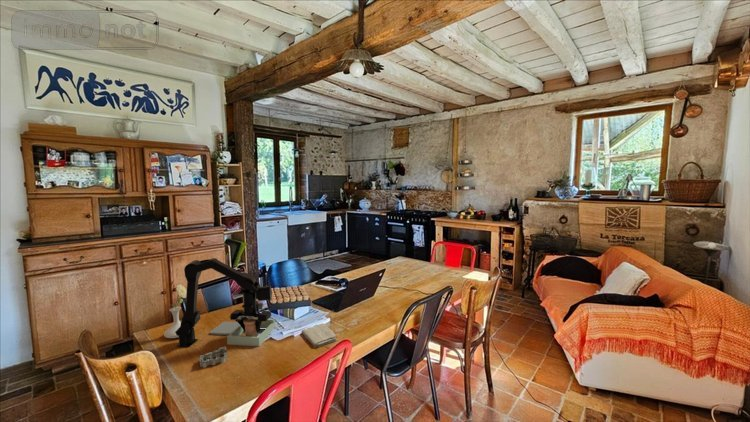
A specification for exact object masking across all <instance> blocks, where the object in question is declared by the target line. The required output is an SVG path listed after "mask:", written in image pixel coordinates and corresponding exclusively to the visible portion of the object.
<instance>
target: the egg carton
mask: <svg viewBox="0 0 750 422" xmlns="http://www.w3.org/2000/svg"><path fill="white" fill-rule="evenodd" d="M227 356H228V351H227V346H222V347H219V348H217V349H216V350H214V351H210V352H208V353H205V354H200V355H199V360H198V361H199V367H200V368H204V369H206V368H207V367H208V366H215V365H217V364H219V363H220V364H224V363H225V362H226V361H228V357H227ZM214 358H215V359H214Z"/></svg>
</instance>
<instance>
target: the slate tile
mask: <svg viewBox="0 0 750 422" xmlns="http://www.w3.org/2000/svg"><path fill="white" fill-rule="evenodd" d="M239 326H240V324H239V323H238V322H237V321H222V322H221V323H220V324H219V325H217V326H216V327H214V328H213V329H212V330H211V331H209V335H211V336H212V335H214V336H215V335H216V336H228V335H229V334H230V333H232V332H233V331H234V330H235V329H236V328H237V327H239Z"/></svg>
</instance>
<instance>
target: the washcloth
mask: <svg viewBox="0 0 750 422" xmlns="http://www.w3.org/2000/svg"><path fill="white" fill-rule="evenodd" d="M301 334H302V335H303V336H304V338H305V339H307V340H308V342H309V343H310V344H311V345H312V347H313V348H315V349H317V348H321V347H323V346H327V345H329V344H332V343H334V342H335V343H336V341H337V340H338V339H337V338H336V334H335V333H334V331H333V330H332V329H330V328H329V327H328V326H327V325H326V324H325V323H319V324H317V325H315V326H312V327H311V326H310V327H308V328H306V329H302V330H301Z"/></svg>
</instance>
